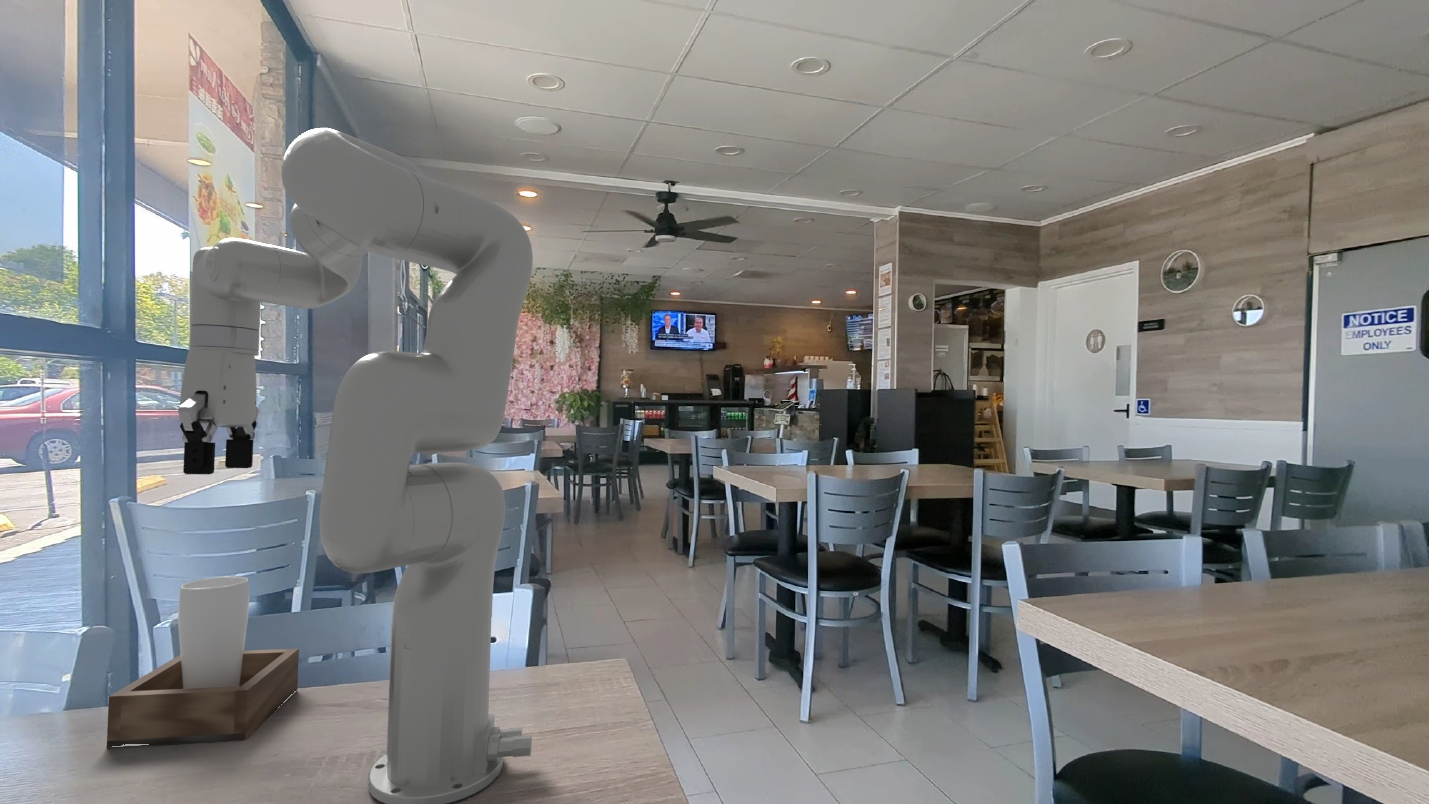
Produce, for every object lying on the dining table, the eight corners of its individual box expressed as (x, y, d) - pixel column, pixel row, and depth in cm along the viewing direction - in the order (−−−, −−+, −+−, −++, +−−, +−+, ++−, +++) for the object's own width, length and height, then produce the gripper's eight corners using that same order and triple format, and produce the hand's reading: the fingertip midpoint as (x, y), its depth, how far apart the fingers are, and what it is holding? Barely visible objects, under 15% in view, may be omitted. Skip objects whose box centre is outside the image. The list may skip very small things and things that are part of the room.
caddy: (297, 691, 87) (298, 648, 87) (245, 740, 74) (247, 690, 74) (181, 696, 85) (183, 652, 85) (106, 748, 72) (108, 696, 72)
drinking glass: (260, 699, 82) (263, 576, 83) (211, 723, 76) (215, 590, 76) (211, 696, 83) (214, 575, 84) (159, 720, 77) (163, 588, 77)
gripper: (228, 347, 97) (223, 465, 97) (151, 333, 80) (145, 476, 80) (284, 350, 99) (280, 466, 98) (221, 336, 82) (215, 477, 81)
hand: (219, 470), depth 89 cm, fingers open, 9 cm apart
